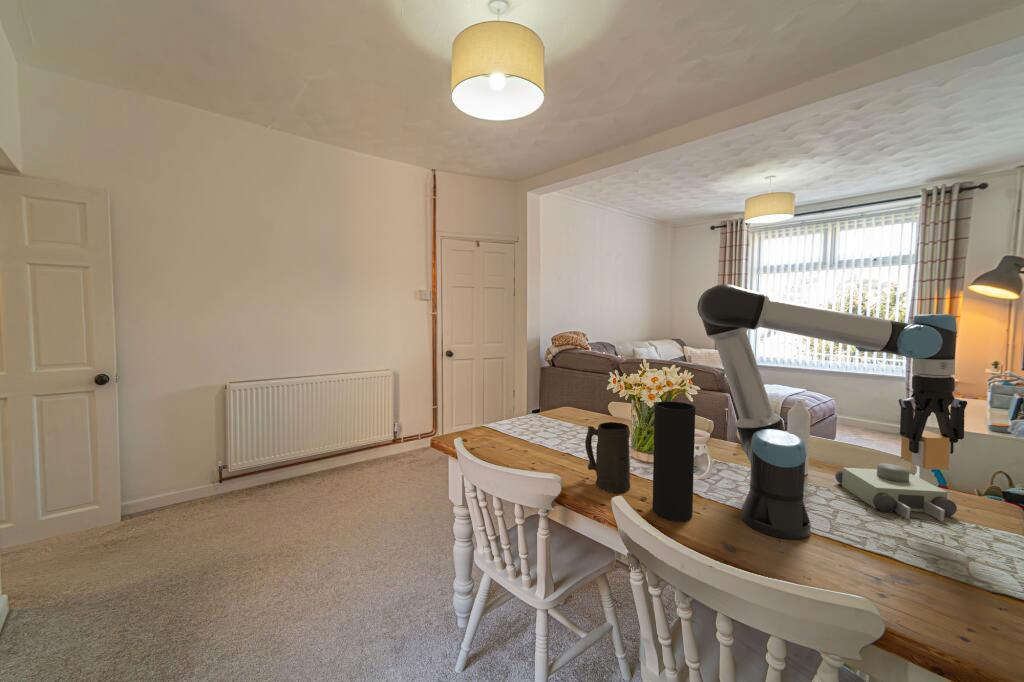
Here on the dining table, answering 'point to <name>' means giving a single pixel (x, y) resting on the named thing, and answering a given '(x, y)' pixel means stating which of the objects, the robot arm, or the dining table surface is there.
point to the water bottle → (800, 425)
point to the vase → (673, 460)
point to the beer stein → (610, 456)
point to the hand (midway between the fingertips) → (930, 465)
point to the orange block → (929, 451)
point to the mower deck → (896, 491)
